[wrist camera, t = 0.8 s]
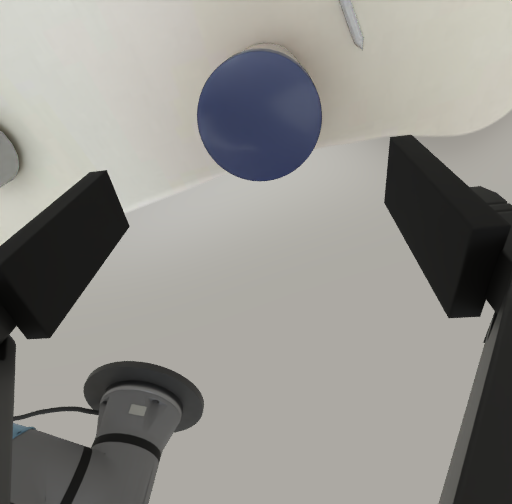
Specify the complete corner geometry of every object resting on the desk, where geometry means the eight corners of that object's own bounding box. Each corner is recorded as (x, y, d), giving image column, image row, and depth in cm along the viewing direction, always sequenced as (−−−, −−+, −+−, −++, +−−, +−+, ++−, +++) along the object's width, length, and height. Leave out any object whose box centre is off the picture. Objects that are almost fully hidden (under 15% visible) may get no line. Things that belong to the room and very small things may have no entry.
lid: (215, 176, 26) (211, 186, 25) (189, 58, 22) (182, 61, 20) (320, 165, 25) (323, 175, 24) (317, 38, 21) (320, 40, 19)
